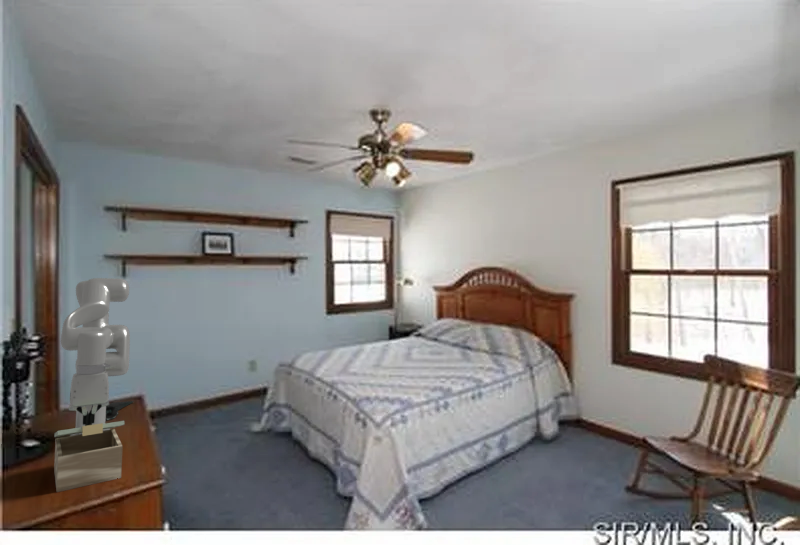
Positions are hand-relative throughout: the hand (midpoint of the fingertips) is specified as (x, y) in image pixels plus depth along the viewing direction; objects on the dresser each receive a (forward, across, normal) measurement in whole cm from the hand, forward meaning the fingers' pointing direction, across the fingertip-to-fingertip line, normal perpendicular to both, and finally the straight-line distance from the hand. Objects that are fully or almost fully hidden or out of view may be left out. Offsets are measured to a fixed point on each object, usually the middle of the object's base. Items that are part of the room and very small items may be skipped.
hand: (88, 425), depth 142 cm
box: (+14, 0, +3) cm, 15 cm away
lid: (+2, 0, +3) cm, 4 cm away
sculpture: (+15, -14, -60) cm, 64 cm away
